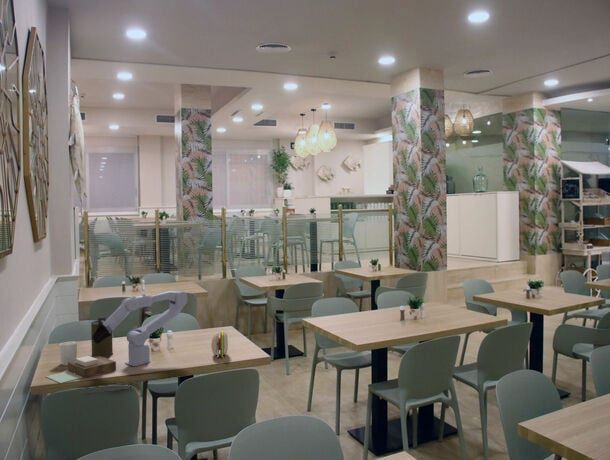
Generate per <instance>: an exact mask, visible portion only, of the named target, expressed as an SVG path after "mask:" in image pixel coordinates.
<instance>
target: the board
mask: <svg viewBox="0 0 610 460" xmlns="http://www.w3.org/2000/svg"><path fill="white" fill-rule="evenodd" d="M93 358H96V359H98V364H94V365H90V366H86V367H85V366H83V365H80V364H77V363H76V361H73V362H68V365H67V371H70V372H72V373H75V374H77V375H79V376H81V377H83V378H85V379H86V378H90V377H94V376H98V375H102V374H106V373H109V372H113V371H116V370H117V361H115V360H113V359H111V358H110V359H109V358H108V357H105V358H104V357H101V356H95V357H93Z"/></svg>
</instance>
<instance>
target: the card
mask: <svg viewBox="0 0 610 460" xmlns="http://www.w3.org/2000/svg"><path fill="white" fill-rule="evenodd" d="M76 363H77V364H80V365H83V366H85V367H86V366H90V365H94V364H98V359H96V358H93V357H92V356H90V355H86V356H81V357H76Z"/></svg>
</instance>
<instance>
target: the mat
mask: <svg viewBox="0 0 610 460" xmlns="http://www.w3.org/2000/svg"><path fill="white" fill-rule="evenodd" d="M45 378H47V379H50V380H52V381H53V382H56V383H58V384H64V383H68V382H71V381H75V380H79V379H83V378H84V377H82V376H79V375H77V374H74V373H72V372H69V371H68V370H67V371H63V372H59V373H55V374H50V375H46V376H45Z"/></svg>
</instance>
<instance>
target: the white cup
mask: <svg viewBox="0 0 610 460" xmlns="http://www.w3.org/2000/svg"><path fill="white" fill-rule="evenodd" d="M77 355H78V342H77V341H74V340H72V341H62V342H61V343H59V356H60V357H59V358H60V365H62V366H68V362H73V361H76V359H77V358H78V357H77Z"/></svg>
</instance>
